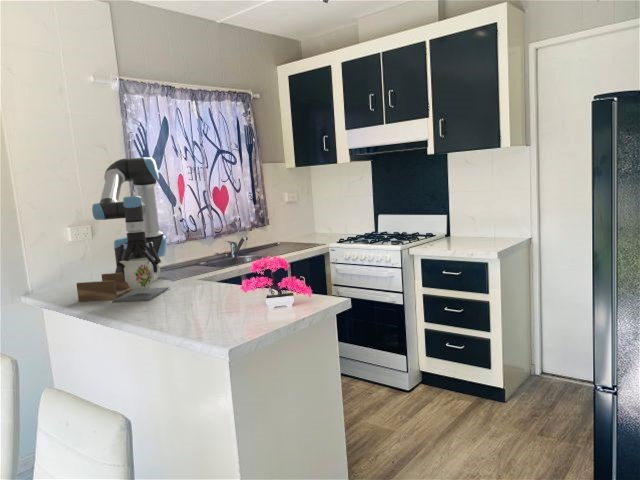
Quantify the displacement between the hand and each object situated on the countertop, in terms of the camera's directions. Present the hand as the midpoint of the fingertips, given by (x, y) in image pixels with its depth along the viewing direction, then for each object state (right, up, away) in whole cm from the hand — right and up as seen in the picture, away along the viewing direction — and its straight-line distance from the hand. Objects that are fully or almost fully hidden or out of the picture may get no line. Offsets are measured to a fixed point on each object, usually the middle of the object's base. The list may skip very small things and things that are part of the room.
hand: (140, 280), depth 214 cm
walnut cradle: (-17, -7, +8) cm, 20 cm away
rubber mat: (0, -7, +1) cm, 7 cm away
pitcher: (+1, -4, 0) cm, 4 cm away
